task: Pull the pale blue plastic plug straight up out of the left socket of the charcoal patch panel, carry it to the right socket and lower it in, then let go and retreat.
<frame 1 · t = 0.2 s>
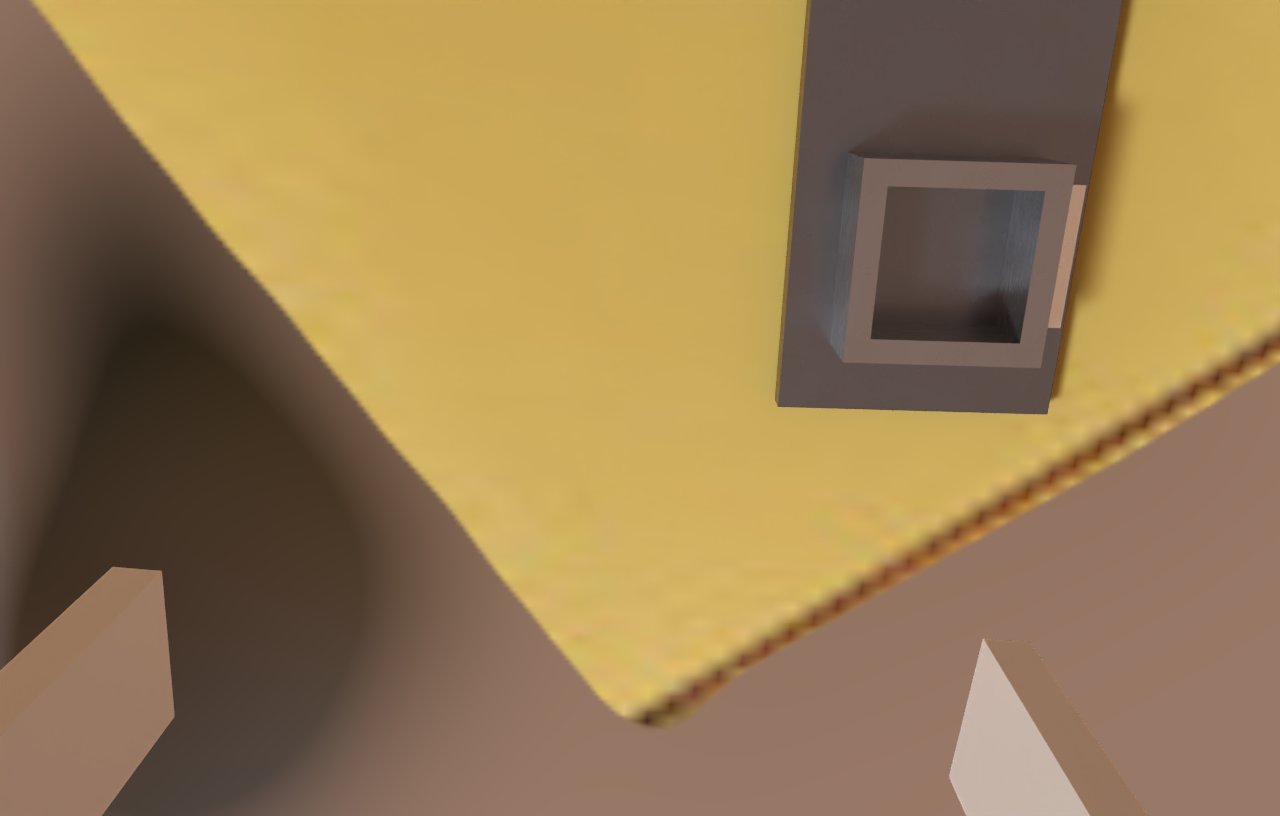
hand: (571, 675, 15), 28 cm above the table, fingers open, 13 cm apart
panel: (952, 50, 38), on the table
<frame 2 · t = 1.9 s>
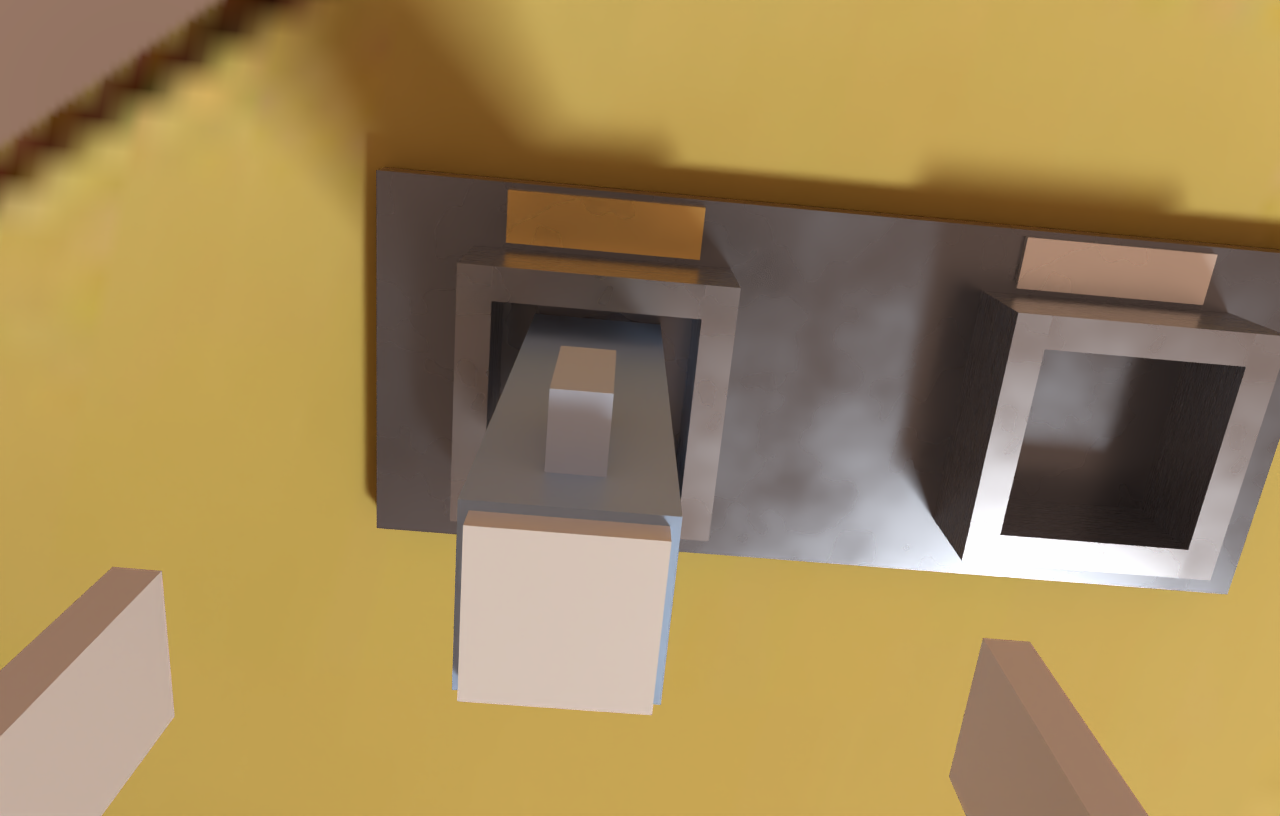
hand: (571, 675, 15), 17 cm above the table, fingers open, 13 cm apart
panel: (830, 389, 32), on the table
plug: (593, 378, 31), point 1 cm above the table, touching panel
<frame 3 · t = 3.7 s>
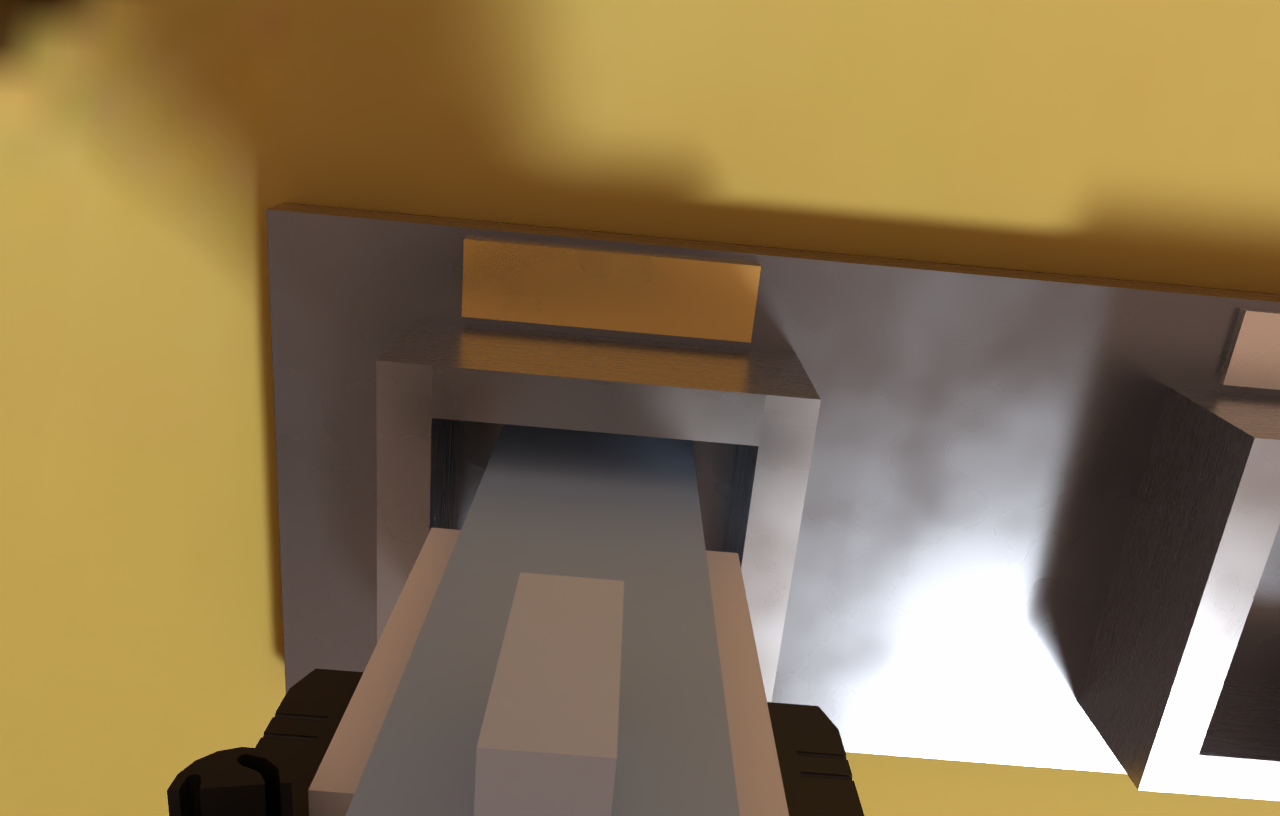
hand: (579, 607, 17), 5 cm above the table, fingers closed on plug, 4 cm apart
panel: (932, 519, 22), on the table
plug: (592, 509, 21), point 1 cm above the table, touching gripper, panel
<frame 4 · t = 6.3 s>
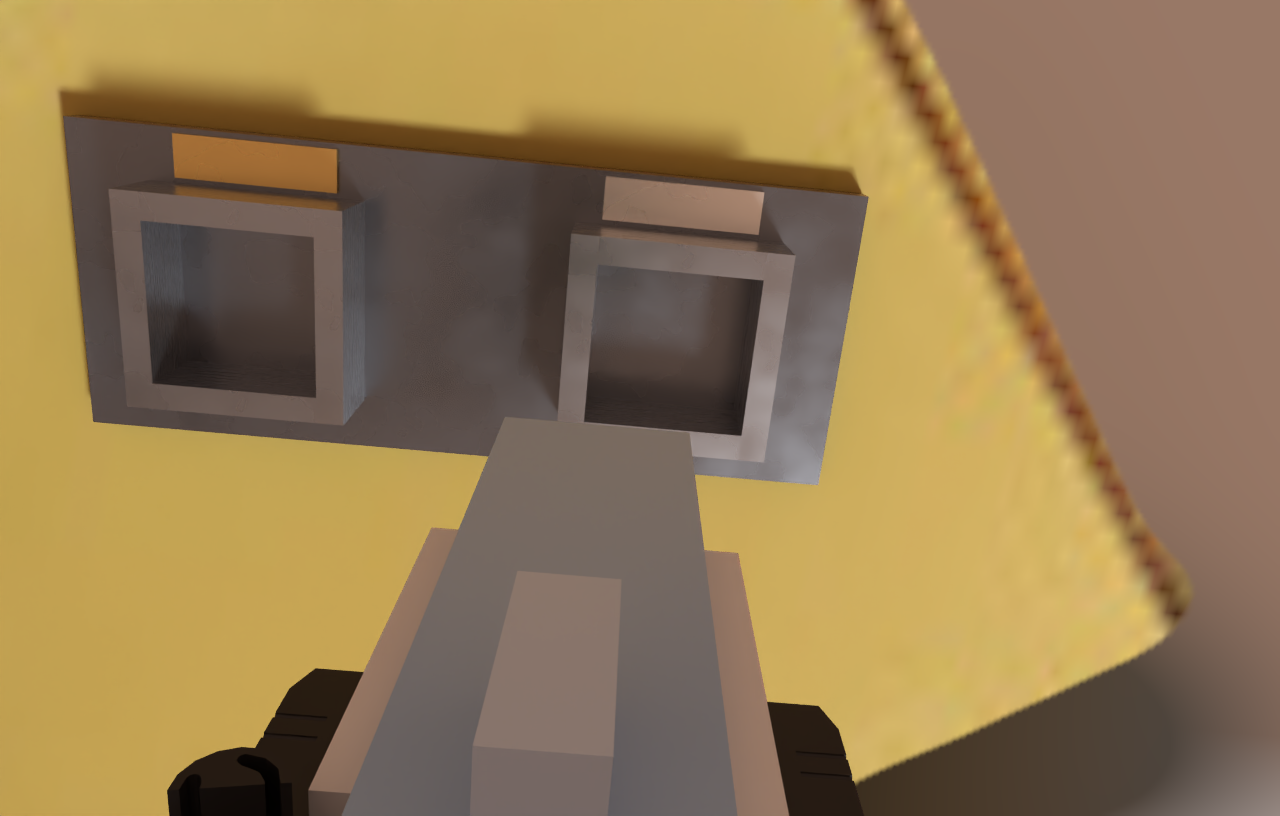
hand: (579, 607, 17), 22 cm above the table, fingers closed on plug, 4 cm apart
panel: (471, 307, 38), on the table
plug: (590, 508, 21), point 18 cm above the table, touching gripper
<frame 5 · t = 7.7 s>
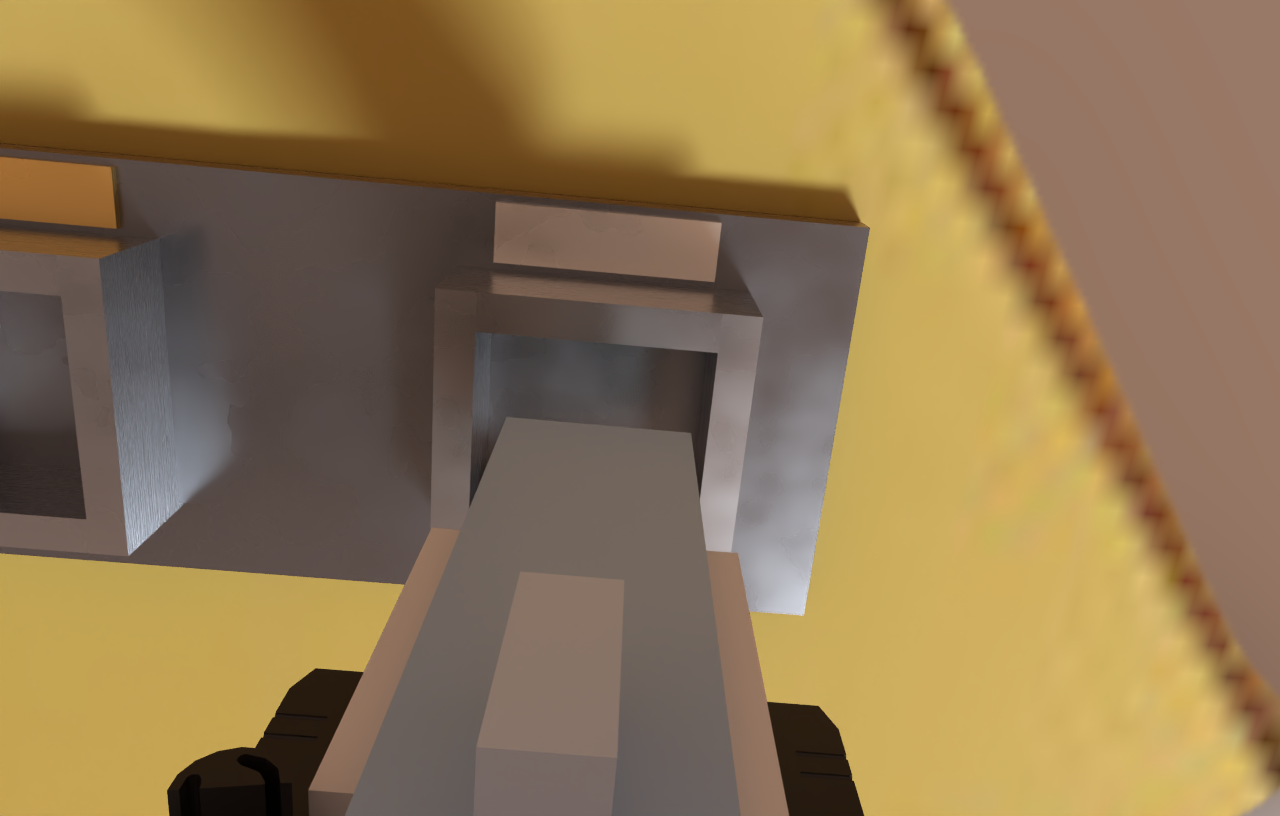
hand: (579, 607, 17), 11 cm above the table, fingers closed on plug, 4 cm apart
panel: (323, 381, 28), on the table
plug: (592, 508, 21), point 7 cm above the table, touching gripper
when the fingers open (6 cm above the table, at t = 8.9 s): plug drops 1 cm, resting on panel.
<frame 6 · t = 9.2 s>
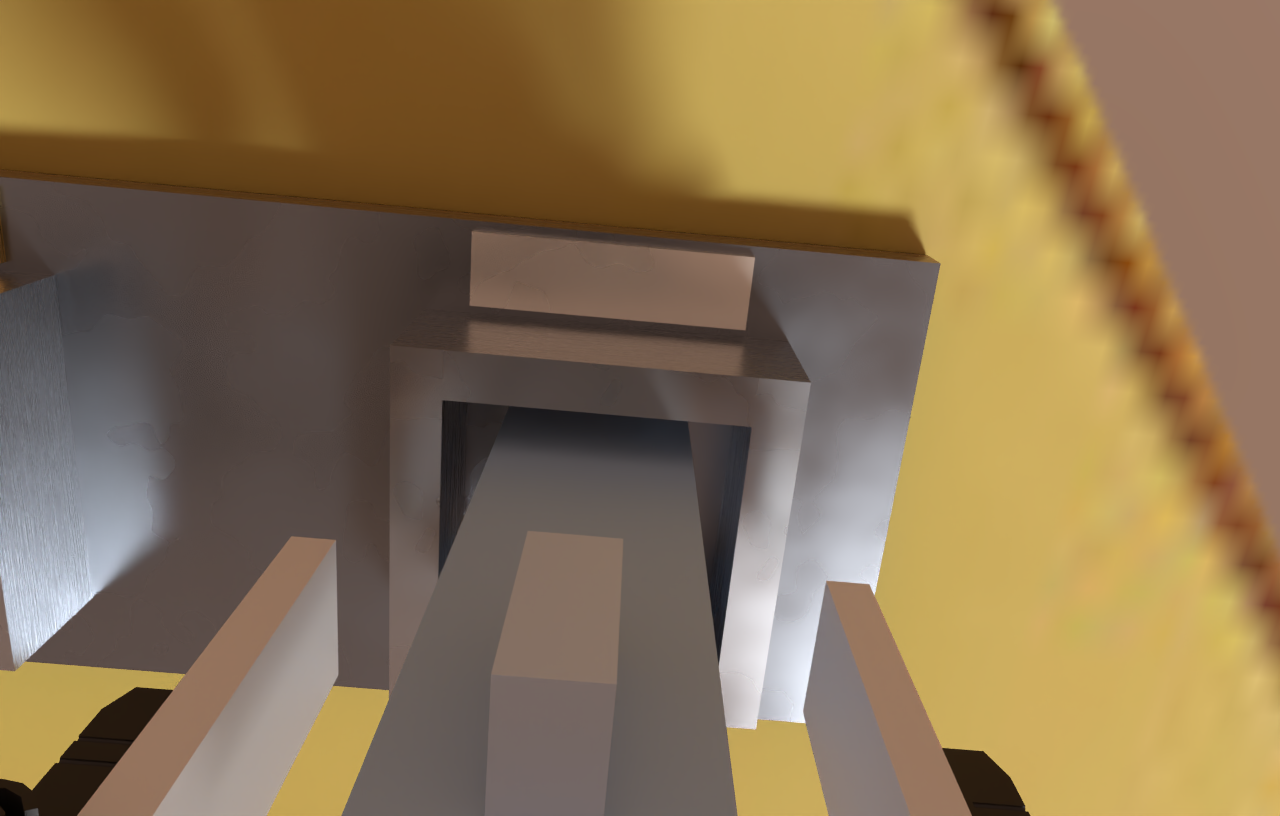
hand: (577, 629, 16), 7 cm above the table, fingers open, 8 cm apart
panel: (265, 445, 23), on the table
plug: (592, 489, 22), point 1 cm above the table, touching panel
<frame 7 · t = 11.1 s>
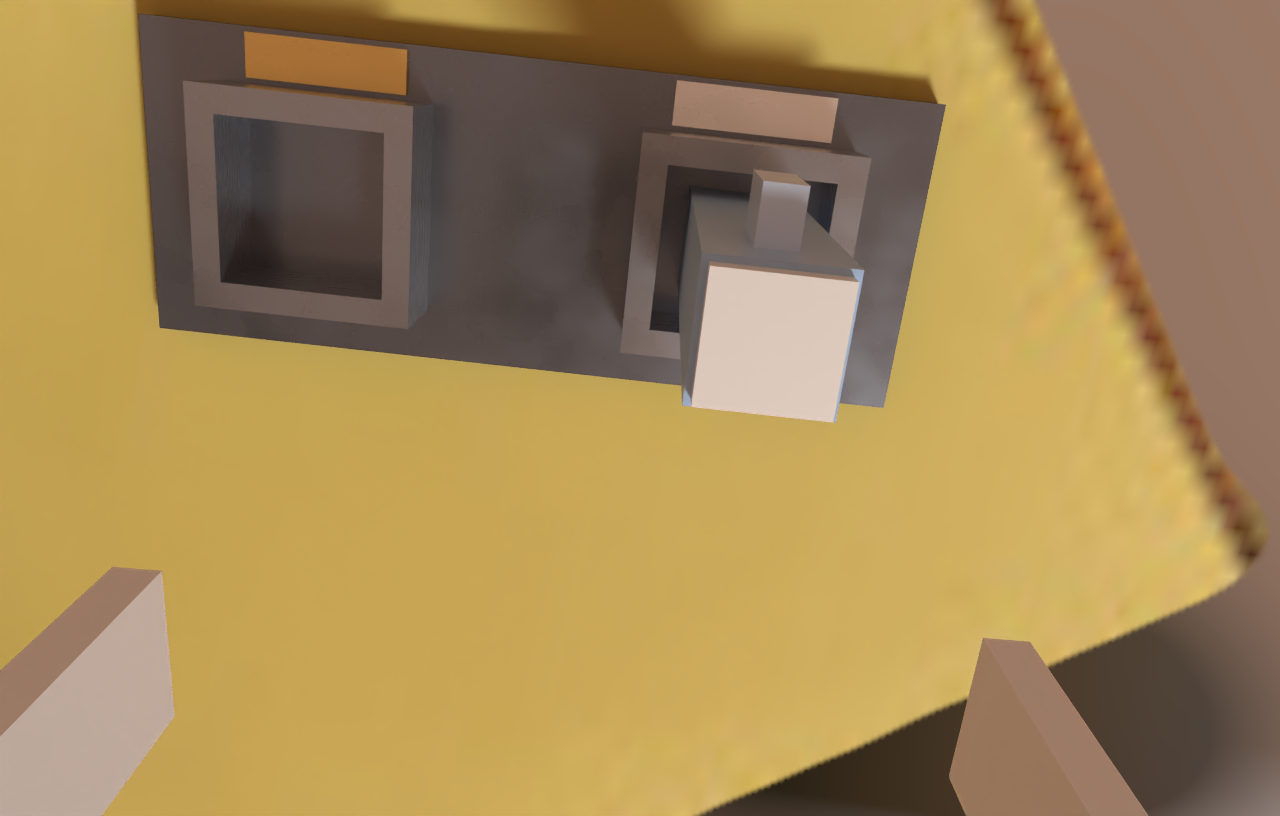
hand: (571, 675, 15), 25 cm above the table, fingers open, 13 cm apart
panel: (535, 218, 38), on the table
plug: (734, 244, 37), point 1 cm above the table, touching panel
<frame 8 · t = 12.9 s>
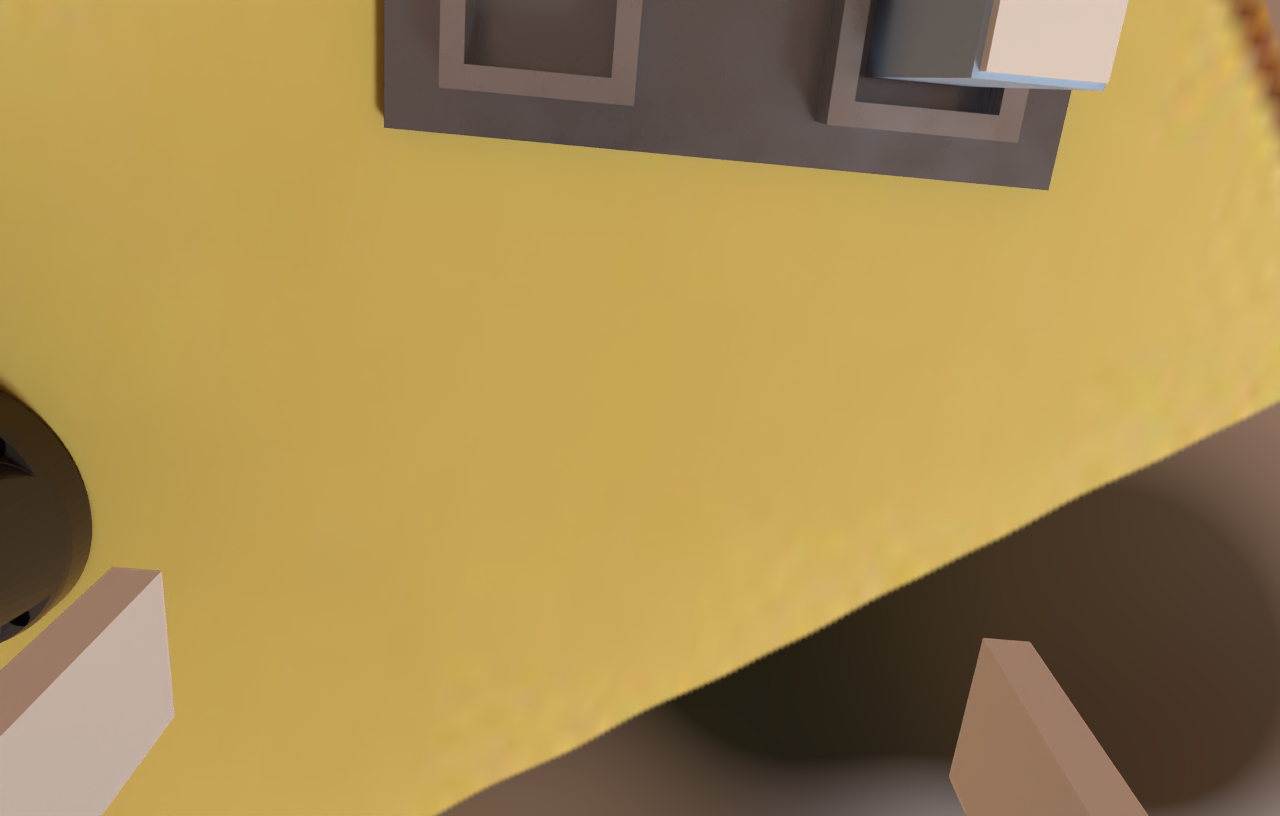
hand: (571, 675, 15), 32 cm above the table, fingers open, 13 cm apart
panel: (733, 16, 41), on the table
plug: (920, 32, 40), point 1 cm above the table, touching panel
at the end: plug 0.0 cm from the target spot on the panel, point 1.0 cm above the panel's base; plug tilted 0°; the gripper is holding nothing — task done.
